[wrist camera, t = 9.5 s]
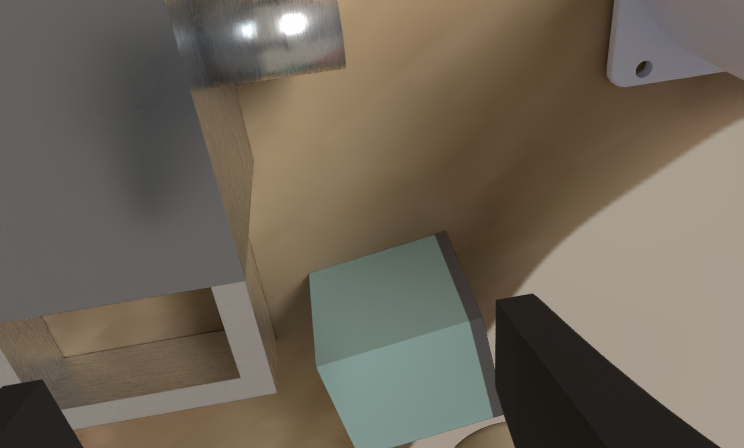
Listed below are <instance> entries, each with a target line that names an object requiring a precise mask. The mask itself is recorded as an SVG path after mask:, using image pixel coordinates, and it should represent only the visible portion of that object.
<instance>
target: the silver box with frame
mask: <svg viewBox="0 0 744 448" xmlns="http://www.w3.org/2000/svg"><path fill="white" fill-rule="evenodd" d="M345 68H346V62H345V51H344V43H343V35H342V28H341V21H340V14H339V8H338V2H337V0H0V388H1V387H2V386H6V385H12V384H18V383H24V382H29V381H35V380H41V379H43V381H44V382H45V384H46V386H47V387H48V389H49V391H50V393H51V394H52V396H53V398H54V399H55V401H56V403H57V404H58V406H59V408H60V409H61V411H62V413H63V414H64V416H65V418H66V419H67V421H68V423H69V424H70V426H71V428H72V430H74V429H80V428H85V427H91V426H96V425H102V424H108V423H113V422H119V421H124V420H130V419H135V418H141V417H147V416H152V415H158V414H163V413H169V412H174V411H180V410H186V409H191V408H197V407H202V406H208V405H213V404H219V403H224V402H230V401H236V400H241V399H247V398H252V397H258V396H263V395H269V394H275V393H277V341H276V337H275V334H274V330H273V326H272V323H271V319H270V315H269V311H268V308H267V304H266V300H265V297H264V293H263V289H262V285H261V282H260V278H259V274H258V271H257V267H256V263H255V259H254V256H253V252H252V248H251V245H250V241H249V237H248V234H249V219H250V205H251V190H252V175H253V157H252V153H251V149H250V145H249V141H248V137H247V133H246V128H245V124H244V120H243V116H242V112H241V108H240V104H239V100H238V96H237V91H236V87H235V85H239V84H246V83H252V82H259V81H266V80H272V79H279V78H285V77H292V76H299V75H305V74H312V73H319V72H325V71H332V70H338V69H345ZM208 287H211V289H212V292H213V295H214V298H215V301H216V304H217V307H218V311H219V314H220V317H221V320H222V323H223V326H224V329H225V330H222V331H217V332H211V333H205V334H199V335H194V336H188V337H182V338H176V339H170V340H165V341H159V342H153V343H147V344H142V345H136V346H130V347H124V348H118V349H113V350H107V351H101V352H95V353H90V354H84V355H78V356H72V357H66V358H63V356H62V354H61V352H60V350H59V349H58V347H57V345H56V343H55V341H54V340H53V338H52V336H51V334H50V332H49V331H48V329H47V327H46V325H45V323H44V321H43V320H42V318H41V316H43V315H49V314H55V313H60V312H66V311H72V310H78V309H84V308H90V307H96V306H102V305H108V304H114V303H120V302H126V301H131V300H137V299H143V298H149V297H155V296H161V295H167V294H173V293H179V292H185V291H191V290H197V289H203V288H208Z"/></svg>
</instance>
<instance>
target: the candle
mask: <svg viewBox="0 0 744 448" xmlns="http://www.w3.org/2000/svg"><path fill="white" fill-rule="evenodd" d="M455 448H515V446H514V444H513V441H512V438H511V435H510V432H509V429H508V426H507V423H506V422H501V423H497V424H493V425H490V426H487V427H484V428H482V429H480V430H478V431H476V432H474V433H472V434H470V435H469V436H467V437H466V438H464V439H463V440H462V441H461V442H459V443H458V444H457V445H456V446H455Z"/></svg>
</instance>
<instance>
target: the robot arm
mask: <svg viewBox="0 0 744 448" xmlns="http://www.w3.org/2000/svg"><path fill="white" fill-rule="evenodd" d="M645 60H646V65H645V68H644V69H643V70H642V71H641V72H639V73H637V74H636V68H637V66H638V65H639V64H640V63H641V62H643V61H645ZM719 72H728V73H730V74H732V75H734V76H736V77H738V78H740V79H742V80H744V0H614V8H613V17H612V26H611V35H610V44H609V53H608V62H607V77H608V79H609V80H610V82H612V83H613V84H615V85H617V86H618V87H630V86H636V85H643V84H649V83H656V82H662V81H668V80H675V79H681V78H688V77H694V76H700V75H707V74H713V73H719ZM495 346H496V347H495V349H496V350H495V388H496V391H497V394H498V398H499V401H500V404H501V407H502V410H503V413H504V417H505V420H506V423H507V426H508V429H509V432H510V435H511V438H512V441H513V444H514V446H515V448H720V447H719V446H718V445H716V444H715V443H713V442H712V441H711V440H709V439H708V438H706V437H705V436H704V435H702V434H701V433H699V432H698V431H697V430H695V429H694V428H693V427H691V426H690V425H689V424H687V423H686V422H685V421H683V420H682V419H681V418H679V417H678V416H677V415H675V414H674V413H673V412H671V411H670V410H669V409H667V408H666V407H665V406H664V405H662V404H661V403H660V402H659V401H657V400H656V399H654V398H653V397H652V396H651V395H650V394H648V393H647V392H646V391H645V390H643V389H642V388H641V387H640V386H639V385H637V384H636V383H635V382H634V381H633V380H631V379H630V378H629V377H628V376H626V375H625V374H624V373H623V372H622V371H620V370H619V369H618V368H617V367H615V366H614V365H613V364H612V363H611V362H609V361H608V360H607V359H606V358H605V357H604V356H602V355H601V354H600V353H599V352H598V351H597V350H596V349H595V348H593V347H592V346H591V345H590V344H589V343H588V342H587V341H585V340H584V339H583V338H582V337H581V336H579V335H578V333H576V332H575V331H574V330H573V329H572V328H571V327H570V326H569V325H568V324H566V323H565V322H564V321H563V320H562V319H561V318H560V317H559V316H558V315H557V314H556V313H554V312H553V311H552V310H551V309H550V308H549V307H548V306H547V305H546V304H545V303H544V302H542V301H541V300H540V299H539V298H538V297H537V296H535V295H534V294H527V295H522V296H516V297H510V298H505V299H499V300H496V344H495ZM0 448H83V446H82V445H81V443H80V441H79V440H78V438H77V436H76V435H75V433H74V431H73V430H72V428H71V426H70V424H69V423H68V421H67V419H66V418H65V416H64V414H63V413H62V411H61V409H60V408H59V406H58V404H57V403H56V401H55V399H54V398H53V396H52V394H51V393H50V391H49V389H48V387H47V386H46V384H45V382H44V381H43V379H41V380H35V381H29V382H24V383H18V384H12V385H6V386H2V387H1V388H0Z"/></svg>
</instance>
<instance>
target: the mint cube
mask: <svg viewBox="0 0 744 448" xmlns="http://www.w3.org/2000/svg"><path fill="white" fill-rule="evenodd" d="M309 281H310V294H311V308H312V321H313V334H314V347H315V361H316V368H317V370H318V372H319V375H320V377H321V379H322V381H323V383H324V385H325V387H326V389H327V391H328V393H329V395H330V397H331V399H332V402H333V404H334V406H335V408H336V410H337V412H338V414H339V416H340V418H341V420H342V422H343V424H344V426H345V429H346V431H347V433H348V435H349V437H350V439H351V441H352V443H353V445H354V447H355V448H392V447H396V446H399V445H402V444H406V443H409V442H413V441H416V440H419V439H423V438H426V437H430V436H433V435H436V434H440V433H443V432H447V431H450V430H453V429H457V428H460V427H463V426H467V425H470V424H474V423H477V422H480V421H484V420H487V419H490V418H494V417H497V416H501V415H504V413H503V410H502V407H501V404H500V401H499V398H498V394H497V391H496V388H495V368H494V364H493V360H492V355H491V351H490V347H489V342H488V338H487V334H486V330H485V325H484V321H483V317H482V315H481V312H480V310H479V308H478V305H477V303H476V301H475V298H474V296H473V294H472V291H471V289H470V287H469V284H468V282H467V280H466V278H465V275H464V273H463V271H462V268H461V266H460V264H459V261H458V259H457V257H456V254H455V252H454V250H453V248H452V245H451V243H450V241H449V238H448V236H447V234H446V231H445V232H442V233H439V234H435V235H432V236H429V237H426V238H422V239H419V240H416V241H413V242H409V243H406V244H403V245H400V246H396V247H393V248H390V249H387V250H383V251H380V252H377V253H374V254H370V255H367V256H364V257H361V258H357V259H354V260H351V261H348V262H344V263H341V264H338V265H335V266H331V267H328V268H325V269H322V270H319V271H315V272H312V273H309Z"/></svg>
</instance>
